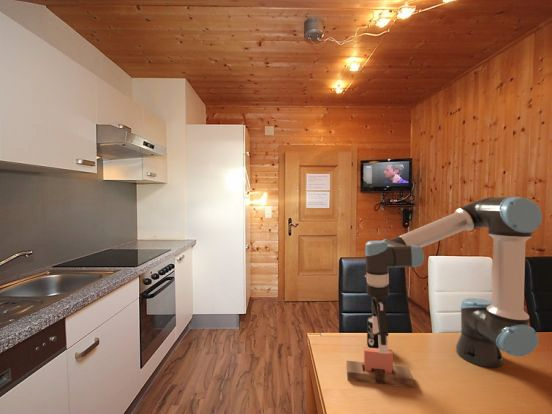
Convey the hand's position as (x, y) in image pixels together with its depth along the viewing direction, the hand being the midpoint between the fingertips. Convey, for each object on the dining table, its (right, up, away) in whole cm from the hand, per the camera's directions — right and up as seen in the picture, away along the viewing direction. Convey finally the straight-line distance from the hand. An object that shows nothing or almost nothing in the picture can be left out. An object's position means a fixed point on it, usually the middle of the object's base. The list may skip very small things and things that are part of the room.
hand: (379, 342), depth 98 cm
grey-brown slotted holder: (0, -13, 0) cm, 13 cm away
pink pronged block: (0, -13, 0) cm, 13 cm away
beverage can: (+6, -13, +20) cm, 25 cm away
